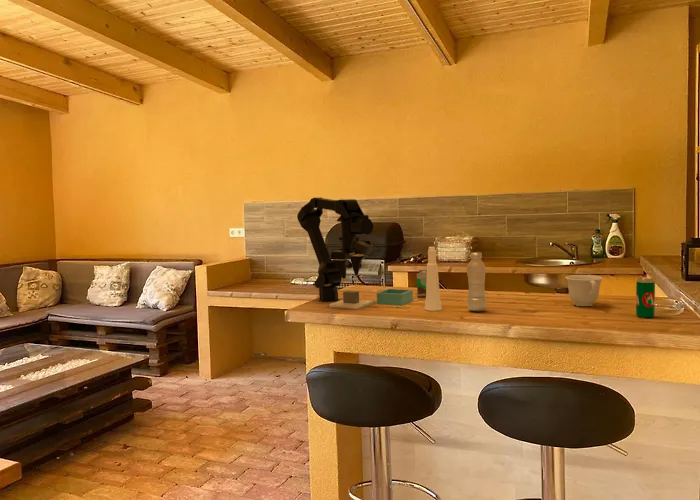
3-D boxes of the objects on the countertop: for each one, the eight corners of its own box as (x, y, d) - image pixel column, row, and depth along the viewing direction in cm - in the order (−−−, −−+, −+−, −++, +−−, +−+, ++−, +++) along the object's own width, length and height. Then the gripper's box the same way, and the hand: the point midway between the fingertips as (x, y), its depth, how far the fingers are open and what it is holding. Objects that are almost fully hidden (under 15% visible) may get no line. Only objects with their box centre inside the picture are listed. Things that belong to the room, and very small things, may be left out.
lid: (328, 306, 192) (328, 293, 192) (345, 300, 203) (344, 288, 202) (357, 308, 186) (357, 295, 186) (373, 302, 197) (373, 290, 196)
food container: (433, 298, 206) (432, 273, 206) (417, 298, 208) (416, 273, 207) (434, 293, 218) (434, 269, 218) (419, 293, 220) (418, 269, 219)
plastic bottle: (473, 313, 177) (472, 254, 175) (463, 310, 183) (462, 252, 181) (490, 312, 178) (489, 252, 177) (480, 308, 185) (479, 251, 183)
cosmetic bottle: (431, 306, 191) (430, 245, 189) (445, 308, 186) (444, 246, 184) (421, 309, 186) (419, 247, 184) (435, 311, 182) (433, 247, 180)
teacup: (576, 311, 175) (576, 281, 174) (559, 302, 190) (559, 275, 189) (613, 310, 175) (613, 280, 174) (593, 302, 190) (594, 274, 189)
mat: (325, 309, 192) (325, 307, 192) (344, 302, 204) (344, 300, 204) (359, 312, 185) (359, 309, 185) (377, 305, 197) (377, 302, 197)
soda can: (637, 314, 167) (638, 276, 166) (655, 316, 164) (656, 277, 163) (634, 317, 164) (634, 278, 163) (652, 319, 160) (653, 280, 159)
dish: (377, 306, 195) (376, 292, 194) (388, 301, 204) (388, 288, 203) (402, 308, 190) (401, 294, 190) (412, 303, 199) (412, 290, 198)
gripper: (356, 235, 180) (357, 281, 182) (380, 232, 196) (381, 274, 198) (328, 235, 186) (329, 280, 187) (353, 232, 202) (355, 273, 203)
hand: (350, 276), depth 194 cm, fingers open, 9 cm apart
